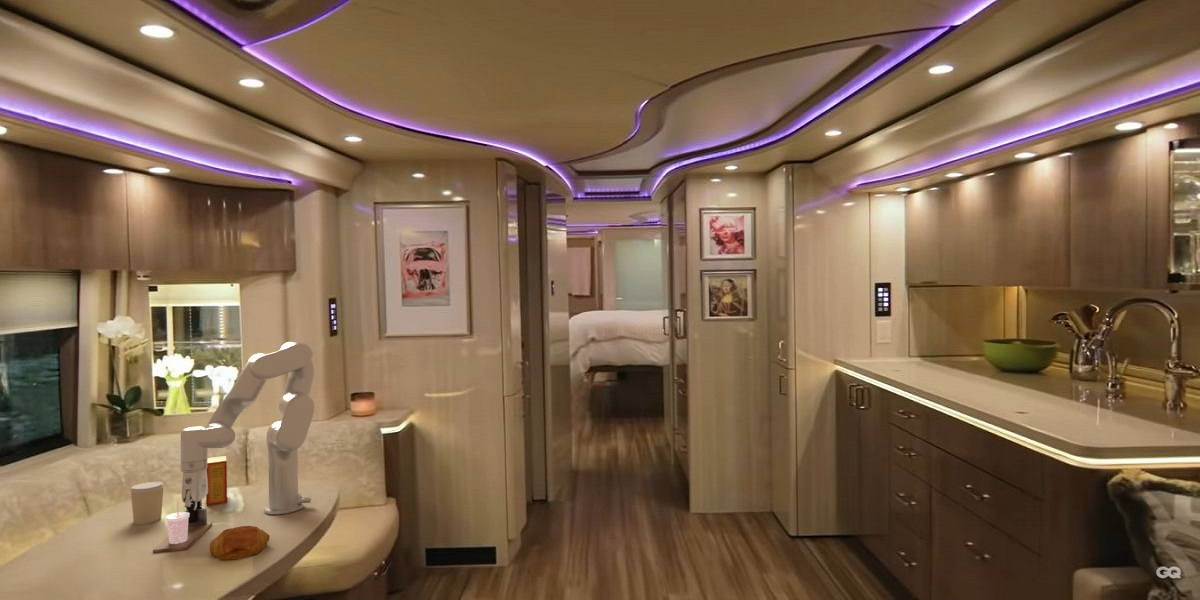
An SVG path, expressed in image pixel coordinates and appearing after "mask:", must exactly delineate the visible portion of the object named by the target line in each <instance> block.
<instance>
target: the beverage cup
mask: <svg viewBox="0 0 1200 600" xmlns="http://www.w3.org/2000/svg"><path fill="white" fill-rule="evenodd" d="M179 504H180V501H179V498H178V499H176V512H173V513H170V514H168V515H167V516H166V517H165V520H166V522H167V533H168V536H169V543H170V544H178V543H182V542H185V541H186V540H187V535H188V518H189V516H190V513H189V512H184V511H180V505H179Z"/></svg>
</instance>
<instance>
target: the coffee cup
mask: <svg viewBox="0 0 1200 600" xmlns="http://www.w3.org/2000/svg"><path fill="white" fill-rule="evenodd" d="M164 486H165V485H164V483H163V482H162V481H148V482H142V483H138V484H135V485H133V486H131V488H130V495H131V497H130V498H131V507H132V509H131V510H132V518H133V523H134V524H135V523H137V524H136V525H144V524H143V523H146V524H151V523H153V522H154V521H155V522H157V520H158V521H159V519H160V520H161V519H162V512H163V499H164V498H163V496H164ZM150 522H151V523H150ZM155 522H154V523H155Z"/></svg>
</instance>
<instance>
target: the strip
mask: <svg viewBox="0 0 1200 600" xmlns="http://www.w3.org/2000/svg"><path fill="white" fill-rule="evenodd" d="M197 510H198V522H196V523H188V535H187V540H186V541H185V542H182V543H178V544H170V543H169V535H168V536H167V537H166V538H165V539H164V540H162V541H161V542H160V543H159V544H157V546H156V547H154V548H153V549H152V553H162V552H173V551H183V550H184V551H186V550H188V549H189V548H190V547H191V546H192V545H193V544H194V543H195V542H196V541H197V540H198V539H199V538H201V536H203V534H204V533H205V532H206V531H207V530H209V528H211V526H213V522H212V521H211V522H208V520H207V519H208V518H207V515H208V514H207V513H208V512H207V511H208V509H207V507H204V508H203V507H202V509H197ZM183 512H186V509H185V510H184V511H183ZM194 541H195V542H194Z"/></svg>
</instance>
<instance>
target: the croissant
mask: <svg viewBox="0 0 1200 600" xmlns="http://www.w3.org/2000/svg"><path fill="white" fill-rule="evenodd" d="M269 541H270V535H269V534H268V532H266V531H264V530H263V529H261V528H259V527H257V526H254V525H253V526H252V525H241V526H237V527H231V528H226V529H224V530H223V531H221V532H220V533H219V534H218V535H217V536H216V537H215V538H213V539H212V540H211V541H210V544H209V552H210V555H211V556H212V557H213V556H214V557H215V558H217V557H218V560H219V559H220V560H219V561H224V560H225V561H231V560H237V559H243V558H244V559H245V558H248V557H250V556H253V554H254V555H257V554H260V553H261V552H262V550H264V548H266V546H267V545H268V542H269Z"/></svg>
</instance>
